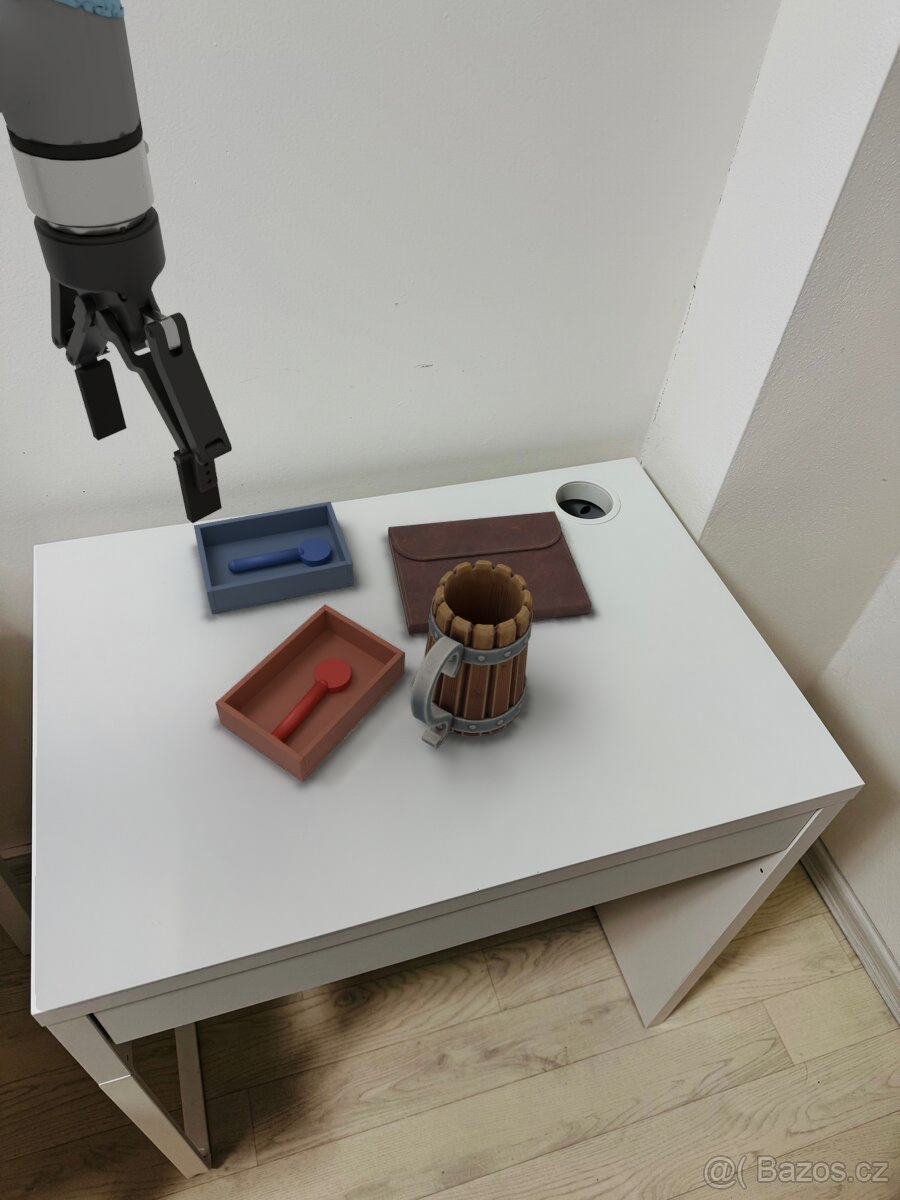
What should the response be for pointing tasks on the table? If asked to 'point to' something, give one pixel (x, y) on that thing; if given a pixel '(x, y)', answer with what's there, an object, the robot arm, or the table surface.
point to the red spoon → (316, 694)
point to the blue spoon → (287, 556)
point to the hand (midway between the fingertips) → (155, 471)
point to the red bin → (291, 676)
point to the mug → (474, 653)
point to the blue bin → (269, 536)
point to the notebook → (505, 540)
